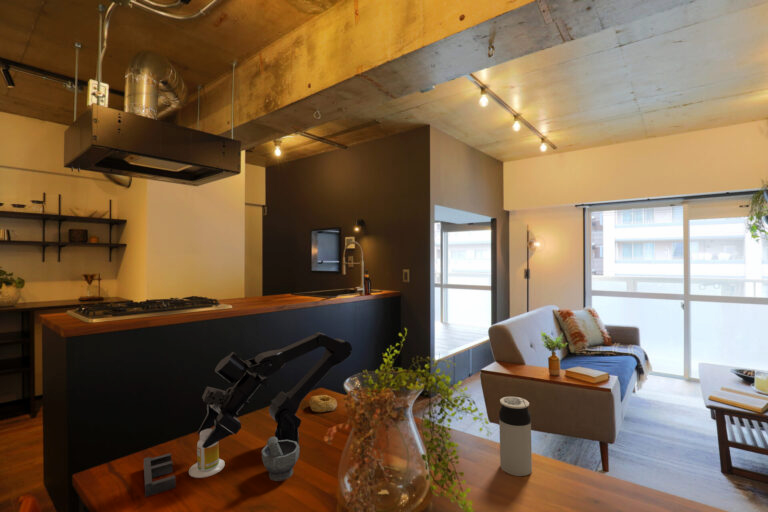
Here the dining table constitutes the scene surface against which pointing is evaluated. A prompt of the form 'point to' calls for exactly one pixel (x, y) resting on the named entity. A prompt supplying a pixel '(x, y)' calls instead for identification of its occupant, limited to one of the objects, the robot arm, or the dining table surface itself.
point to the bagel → (322, 403)
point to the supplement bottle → (207, 453)
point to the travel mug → (515, 436)
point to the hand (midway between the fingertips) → (201, 440)
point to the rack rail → (158, 474)
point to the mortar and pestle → (280, 458)
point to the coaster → (200, 474)
